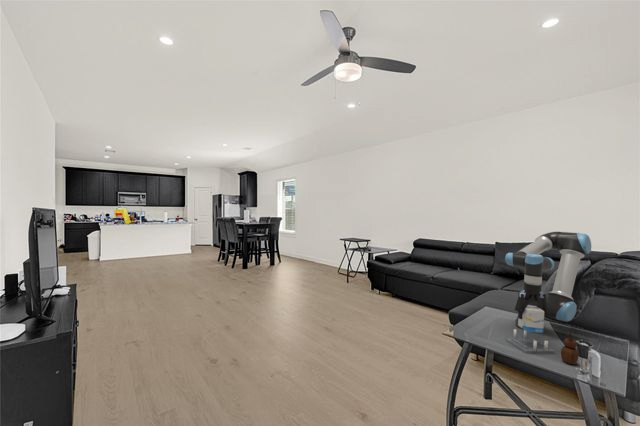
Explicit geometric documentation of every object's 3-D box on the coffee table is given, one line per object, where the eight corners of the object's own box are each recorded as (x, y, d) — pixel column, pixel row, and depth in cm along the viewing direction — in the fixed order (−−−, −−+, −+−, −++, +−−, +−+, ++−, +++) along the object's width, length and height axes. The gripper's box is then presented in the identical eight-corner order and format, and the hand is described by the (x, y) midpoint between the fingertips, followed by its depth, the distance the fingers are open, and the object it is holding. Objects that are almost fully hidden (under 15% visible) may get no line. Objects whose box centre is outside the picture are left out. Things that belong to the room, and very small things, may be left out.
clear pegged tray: (532, 340, 159) (532, 329, 159) (556, 353, 144) (556, 341, 144) (505, 340, 158) (505, 329, 158) (526, 353, 143) (527, 341, 143)
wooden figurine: (572, 366, 132) (574, 335, 132) (558, 360, 138) (559, 330, 137) (580, 364, 135) (582, 333, 135) (566, 358, 140) (567, 328, 140)
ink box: (544, 333, 146) (545, 311, 146) (525, 331, 148) (526, 309, 147) (534, 326, 154) (536, 305, 154) (517, 325, 156) (518, 303, 156)
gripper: (546, 282, 155) (543, 322, 156) (507, 281, 154) (505, 322, 154) (558, 285, 148) (556, 328, 148) (518, 284, 146) (516, 327, 146)
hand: (530, 325), depth 151 cm, fingers closed on ink box, 9 cm apart
